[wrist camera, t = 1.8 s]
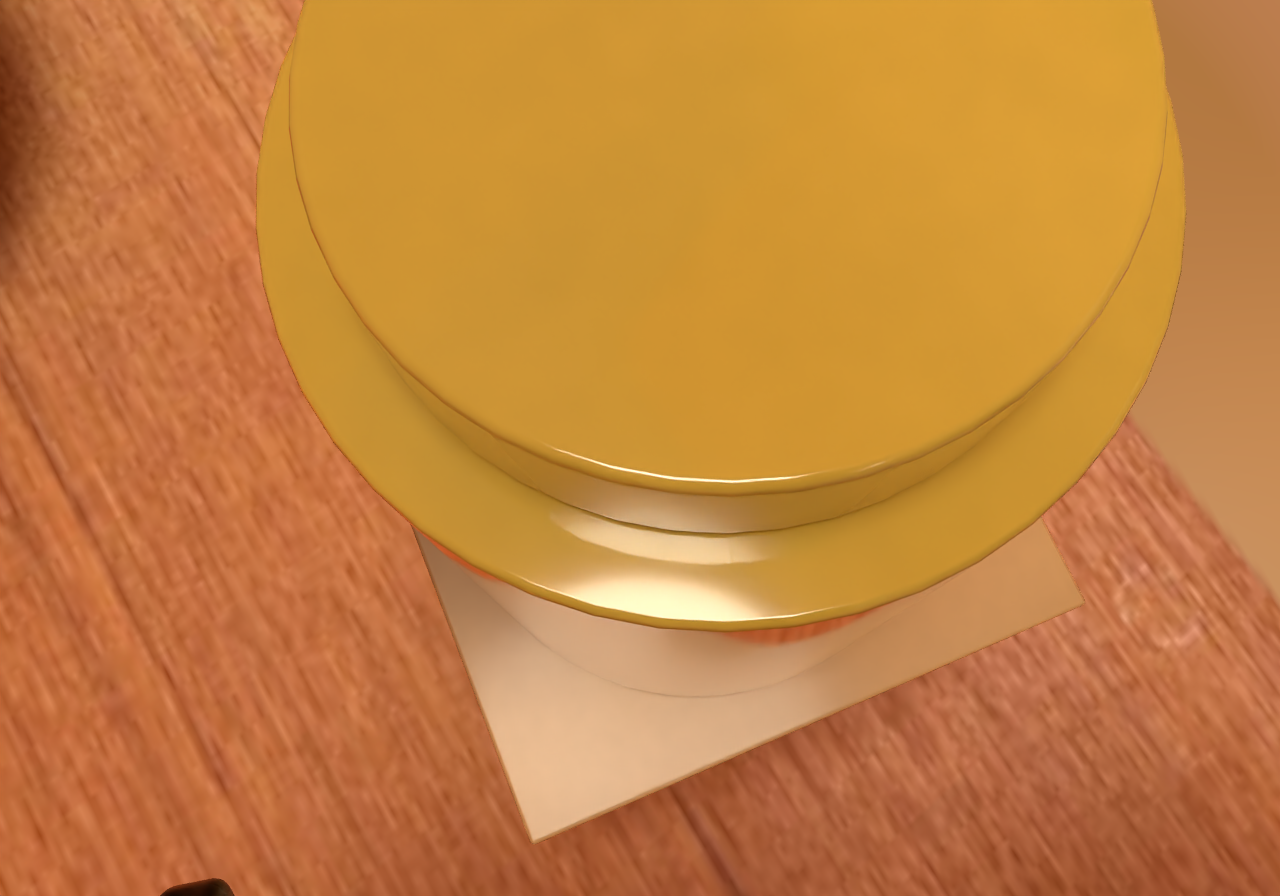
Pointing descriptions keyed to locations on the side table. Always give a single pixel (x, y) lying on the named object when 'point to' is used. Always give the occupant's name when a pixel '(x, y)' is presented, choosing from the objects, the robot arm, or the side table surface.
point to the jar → (720, 296)
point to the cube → (715, 725)
